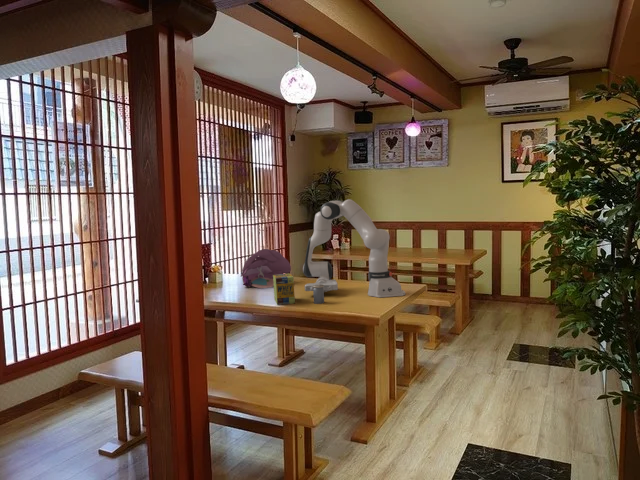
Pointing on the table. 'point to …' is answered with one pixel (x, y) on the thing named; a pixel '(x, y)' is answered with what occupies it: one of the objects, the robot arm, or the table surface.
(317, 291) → the tumbler
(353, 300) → the table surface
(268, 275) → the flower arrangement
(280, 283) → the protein box
